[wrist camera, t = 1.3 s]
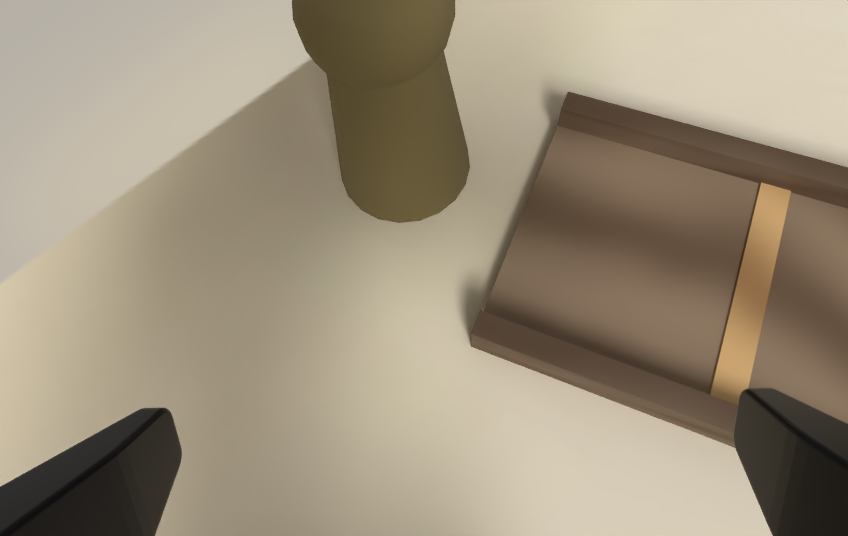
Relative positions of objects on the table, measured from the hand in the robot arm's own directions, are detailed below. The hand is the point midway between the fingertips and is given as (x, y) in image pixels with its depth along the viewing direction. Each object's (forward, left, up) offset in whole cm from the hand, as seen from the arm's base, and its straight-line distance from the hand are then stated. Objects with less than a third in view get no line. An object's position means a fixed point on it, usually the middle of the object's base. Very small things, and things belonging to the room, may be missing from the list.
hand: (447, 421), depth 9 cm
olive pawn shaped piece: (+12, +7, -14) cm, 20 cm away
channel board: (+11, -9, -14) cm, 19 cm away
